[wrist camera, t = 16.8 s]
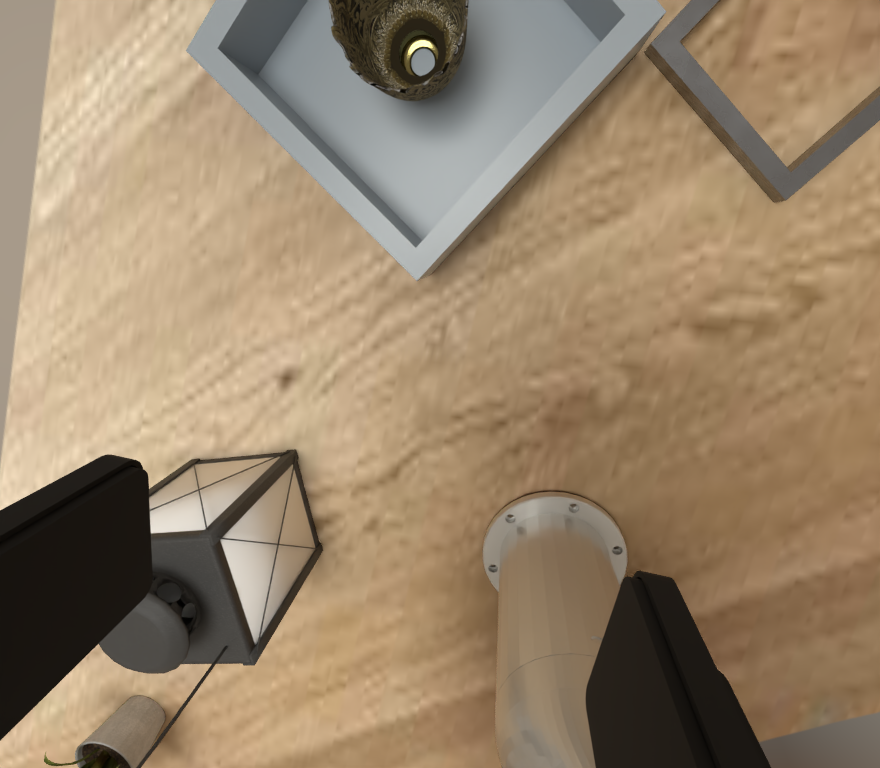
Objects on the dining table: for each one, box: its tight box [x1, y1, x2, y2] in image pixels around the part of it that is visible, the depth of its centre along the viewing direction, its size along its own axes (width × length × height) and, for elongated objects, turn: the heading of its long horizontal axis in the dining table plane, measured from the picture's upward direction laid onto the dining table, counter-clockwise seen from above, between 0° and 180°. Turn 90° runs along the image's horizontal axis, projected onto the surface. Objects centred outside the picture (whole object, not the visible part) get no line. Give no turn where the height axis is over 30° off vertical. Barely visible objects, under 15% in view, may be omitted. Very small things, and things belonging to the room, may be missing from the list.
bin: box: [186, 0, 666, 281], centre depth 30 cm, size 20×20×6 cm
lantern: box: [99, 450, 323, 768], centre depth 33 cm, size 11×11×28 cm
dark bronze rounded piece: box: [329, 0, 469, 101], centre depth 28 cm, size 8×7×8 cm
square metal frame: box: [644, 0, 880, 202], centre depth 29 cm, size 13×13×2 cm
